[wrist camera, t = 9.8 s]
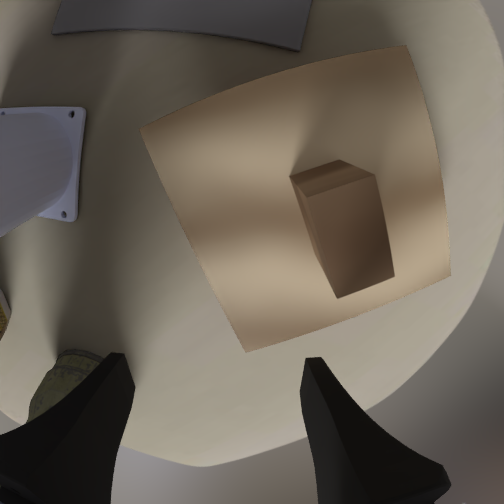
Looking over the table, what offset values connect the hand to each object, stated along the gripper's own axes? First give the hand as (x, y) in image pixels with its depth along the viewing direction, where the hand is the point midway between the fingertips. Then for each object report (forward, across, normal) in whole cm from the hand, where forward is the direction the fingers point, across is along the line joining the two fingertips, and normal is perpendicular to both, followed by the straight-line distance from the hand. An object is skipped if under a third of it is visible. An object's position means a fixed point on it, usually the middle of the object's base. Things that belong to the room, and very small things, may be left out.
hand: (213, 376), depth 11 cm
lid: (+5, -5, -5) cm, 9 cm away
